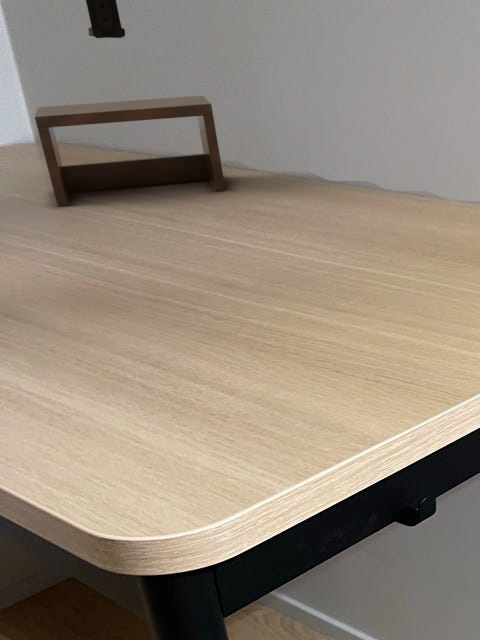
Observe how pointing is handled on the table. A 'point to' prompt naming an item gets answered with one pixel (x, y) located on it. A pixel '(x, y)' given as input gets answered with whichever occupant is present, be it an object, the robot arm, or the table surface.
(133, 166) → the shelf
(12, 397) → the table surface
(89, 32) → the block
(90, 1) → the robot arm
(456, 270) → the table surface
